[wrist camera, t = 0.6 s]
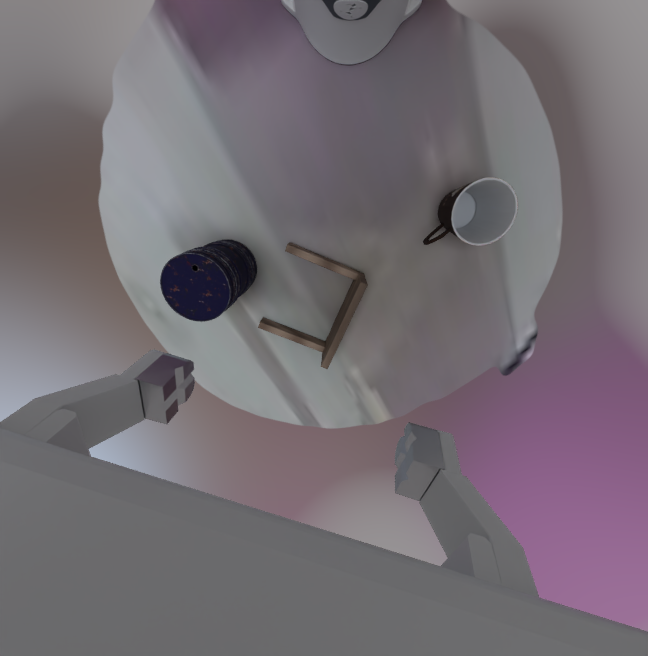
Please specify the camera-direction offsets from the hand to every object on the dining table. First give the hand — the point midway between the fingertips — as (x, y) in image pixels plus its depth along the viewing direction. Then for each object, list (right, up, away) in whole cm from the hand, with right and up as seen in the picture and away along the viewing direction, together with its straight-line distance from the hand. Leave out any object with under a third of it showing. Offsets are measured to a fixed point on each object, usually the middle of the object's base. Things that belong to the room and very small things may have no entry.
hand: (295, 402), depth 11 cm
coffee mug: (+22, +22, +40) cm, 50 cm away
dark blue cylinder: (-16, +14, +45) cm, 49 cm away
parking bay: (-2, +8, +46) cm, 47 cm away
